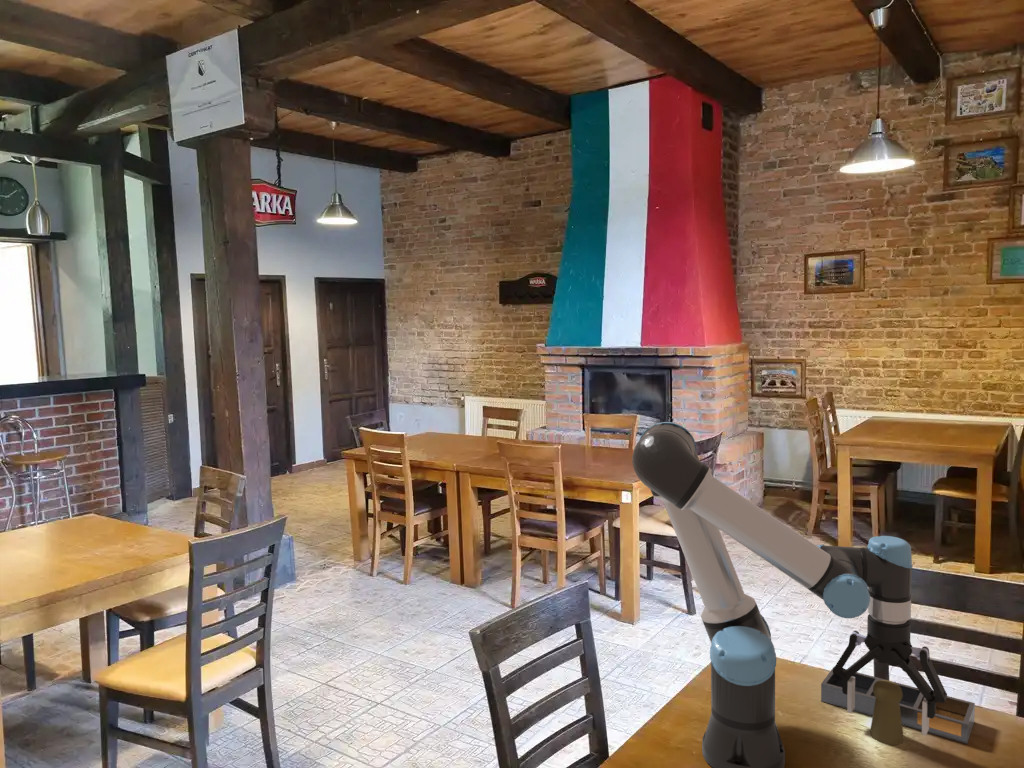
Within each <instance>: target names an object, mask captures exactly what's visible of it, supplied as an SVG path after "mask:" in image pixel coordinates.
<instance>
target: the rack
mask: <svg viewBox="0 0 1024 768" xmlns="http://www.w3.org/2000/svg"><path fill="white" fill-rule="evenodd" d="M835 666H836V665H834V666H833V667H832V669H830V671H829V672H828V674H827V675H826V677H825V678H824V679H823V680H822V682H821V684H820V685H821V687H820V688H821V689H820V690H821V694H820V702H822V703H826V704H829V705H832V706H836V707H840V708H843V709H845V710H846V709H847V694H843V692H842V677H841V676H839V675H838V674H837V675H836V674H834V673H833V669H834V667H835ZM853 677H855V708H854V710H853V711H852V712H857V713H860V714H863V715H867V716H870V717H873V712H874V706H875V700H876V697H875V696H874V693H873V686H874V684H875V683H876V682H877V681H879V680H886V679H884V678H880V677H876V676H874V675H873V676H872V675H869V674H865V673H863V672H859V671H857V672H856V673H855V674H854V675H853ZM894 682H895V683H896V684H898V685H899V686H900V688H901V689H902V693H903V695H902V699H901V701H900V702H899V705H900V713H901V720H902V726H905V727H907V728H911V729H914V730H918V731H921V732H922V702H923V700H924V698H925V697H924V696H923V695H922V693H921V692H920V691H919V689H918V688H917V687H916V686H915V687H914V686H911V685H906V684H904V683H900V682H896V681H894ZM975 704H976V703H975V702H972V701H967V700H964V699H960V698H957V697H954V696H949V695H947V698H946V700H945V702H944V703H940V702H936V714H935V716H934V718H933V719H932V718H929V730H928V732H927V734H932V735H935V736H938V737H942V738H945V739H949V740H952V741H956V742H958V743H962V744H966V745H968V743H969V740H970V736H971V734H972V730H973V727H974V724H975V716H976V715H975V709H976V705H975Z"/></svg>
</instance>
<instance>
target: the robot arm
mask: <svg viewBox="0 0 1024 768" xmlns="http://www.w3.org/2000/svg"><path fill="white" fill-rule="evenodd" d="M631 459H632V467H633V471H634V473H635V475H636V476H637V478H638V479H639V480H640V482H642V484H643V485H644V486H646V487H647V488H648V489H649V490H650V492H651V495H652V497H654V498H655V499H657V500H660V501H662V502H663V505H664V508H665V511H666V513H667V514H668V517H669V520H670V523H671V525H672V527H673V530H674V533H675V536H676V538H677V540H678V543H679V546H680V547H681V550H682V553H683V556H684V558H685V561H686V563H687V566H688V568H689V571H690V573H691V575H692V578H693V580H694V584H695V585H696V588H697V589H696V590H698V593H699V596H700V598H701V600H702V603H703V605H704V607H703V609H702V612H701V614H700V618H701V621H702V623H703V625H704V629H705V632H706V634H707V636H708V639H709V641H710V649H709V659H710V690H711V691H710V693H711V694H710V697H711V698H710V700H711V701H710V702H711V703H710V704H711V705H710V706H711V714H710V716H709V719H708V723H707V727H706V730H705V731H704V734H703V735H702V742H701V743H702V744H701V746H702V747H701V752H702V757H703V759H704V760H705V762H706V763H707V764H708V765H709V766H710V767H711V768H785V765H786V751H785V746H784V744H783V740H782V738H781V735H780V732H779V729H778V726H777V722H776V667H777V655H776V650H775V649H776V648H775V644H774V643H773V641H772V638H771V637H772V635H771V634H772V633H771V629H770V626H769V624H768V623H767V621H766V619H765V617H764V616H763V615H762V614H761V611H760V609H759V607H758V604H757V601H756V600H755V598H754V597H752V596H750V595H749V594H746V593H745V591H744V589H743V586H742V583H741V582H740V579H739V576H738V574H737V571H736V568H735V567H734V564H733V562H732V558H731V556H730V554H729V551H728V549H727V546H726V544H725V541H724V539H723V536H722V534H721V532H723V533H724V534H726V535H727V536H729V537H730V538H732V540H735V541H736V542H738V543H739V544H741V545H742V546H743V547H745V548H746V549H748V550H749V551H751V552H752V553H753V554H755V555H757V556H759V557H760V559H761V558H762V559H763V560H764V561H765V562H767V563H769V564H770V565H772V567H774V568H776V569H777V570H779V571H781V572H782V573H783V574H785V576H786V575H787V576H788V577H789V578H791V579H792V580H794V581H795V582H797V583H798V584H800V586H801V585H802V586H803V587H804V588H805V589H807V590H808V591H810V592H811V593H813V594H814V595H815V596H817V597H818V598H820V599H821V600H823V602H824V604H825V605H826V606H827V608H828V609H829V611H830V612H832V613H833V614H834V615H835V616H837V617H839V618H842V619H854V618H857V617H860V616H862V615H863V614H864V613H865V612H867V613H868V614H867V627H866V628H867V634H866V635H863V634H860V633H859V631H858V630H853V632H852V633H851V634H850V635H849V639H848V645H847V647H845V650H844V651H843V653H842V654H841V656H840V657H839V659H838V660H837V662H836V664H835V665H834V666H835V667H834V666H833V667H834V669H833V668H832V669H833V673H834V674H836V675H837V674H838V675H839V676H841V677H842V692H843V694H847V711H846V712H847V713H848V714H852V712H854V711H853V710H854V708H855V677H853V675H854V674H855V673H856V672H859V671H860V670H862V668H864V667H865V666H866V665H868V664H869V663H870V662H872V661H873V660H874V659H875V660H876V661H878V663H881V664H888V665H890V666H891V667H897V666H899V667H900V669H901V670H902V671H903V672H904V673H905V674H906V675H907V676H908V677H909V679H910V680H911V681H912V683H913V684H914V685H915V688H918V689H919V691H920V692H921V693H922V695H923V696H924V697H925V698H924V700H923V702H922V731H921V735H923V736H927V735H928V730H929V718H932V719H933V718H934V716H935V714H936V702H940V703H944V702H945V700H946V698H947V696H948V693H947V692H946V689H945V687H944V685H943V683H942V681H941V679H940V677H939V675H938V672H937V671H936V668H935V667H934V664H933V662H932V660H931V658H930V649H929V647H928V646H922V647H914V646H913V645H912V643H911V629H912V628H911V623H912V622H911V621H910V619H911V618H912V574H913V573H912V571H913V570H912V569H913V558H912V546H911V545H910V543H909V542H908V541H907V540H905V539H903V538H900V537H896V536H891V535H881V536H877V535H876V536H873V537H870V538H869V540H868V544H867V547H855V546H854V547H853V546H838V545H837V546H836V545H825V544H814V543H813V542H812V541H810V540H809V539H807V538H805V537H804V536H802V535H801V534H800V533H799V532H797V531H795V530H794V529H792V528H791V527H790V526H788V525H786V524H785V523H783V522H782V521H780V520H779V519H778V518H776V517H774V516H773V515H771V514H770V513H769V512H767V511H765V510H764V509H762V508H761V507H759V506H758V505H757V504H755V503H753V502H752V501H751V500H749V499H747V498H746V497H744V496H743V495H741V494H740V493H738V492H737V491H735V489H733V488H731V487H729V486H728V485H727V484H725V483H723V482H722V481H720V480H719V479H718V478H716V477H714V476H713V474H712V470H711V468H710V467H709V466H708V465H707V464H705V463H703V462H702V461H701V460H700V458H699V456H698V453H697V443H696V440H695V438H694V437H693V435H692V434H691V432H690V431H689V430H688V429H687V428H686V427H684V426H683V425H681V424H679V423H676V422H671V421H664V422H663V421H662V422H658V423H655V424H654V425H652V426H650V427H648V428H647V429H645V430H644V432H643V433H642V434H641V436H640V437H639V440H638V442H637V443H636V445H635V446H634V449H633V452H632V457H631ZM863 643H864V644H865V646H866V648H867V649H868V651H867V652H866V653H864V655H863V656H861V657H860V658H859V659H857V660H856V661H854V663H852V664H851V665H850V666H849V667H847V668H844V667H845V664H846V663H847V662H848V660H849V658H850V657H851V655H852V653H853V652H854V650H855V649H856V647H857V646H861V644H863ZM911 655H914V656H915V658H916V659H917V661H919V662H920V665H921V667H922V670H923V672H924V674H925V676H926V679H927V680H928V682H929V683H928V682H927V680H926V679H925V678H924V676H923V675H922V674H921V673H920V671H919V670H918V669H917V667H916V666H915V665H914V662H913V661H912V660H911V658H910V656H911ZM929 684H930V685H929Z"/></svg>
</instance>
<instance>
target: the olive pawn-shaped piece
mask: <svg viewBox="0 0 1024 768" xmlns="http://www.w3.org/2000/svg"><path fill="white" fill-rule="evenodd" d="M895 682H896V681H892V680H888V679H885V680H879V681H877V682H876V683H875V684H874V686H873V693H874V696H875V697H876V700H875V706H874V712H873V716H872V719H871V724H870V730H869V734H870V737H871V738H872V739H874V740H875V741H876V740H877V742H878V743H881V744H884V745H889V746H899V745H901V744H903V743H904V741H905V739H904V737H905V736H904V730H903V725H902V720H901V713H900V705H899V702H900V701H901V699H902V695H903V693H902V689H901V688H900V686H899V685H898V684H896V683H897V682H896V683H895Z"/></svg>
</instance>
